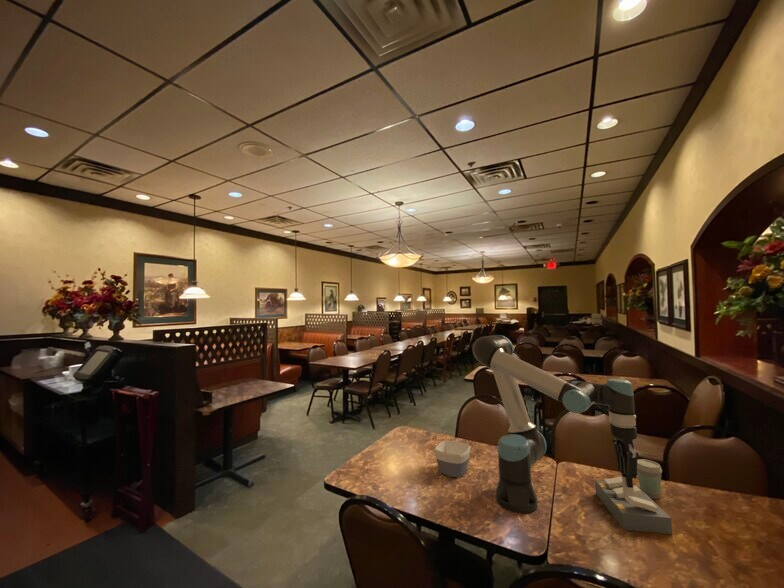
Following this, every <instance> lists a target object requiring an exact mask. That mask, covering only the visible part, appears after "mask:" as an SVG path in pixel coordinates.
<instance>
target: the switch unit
mask: <svg viewBox="0 0 784 588" xmlns="http://www.w3.org/2000/svg"><path fill="white" fill-rule="evenodd" d="M594 484H595V494H596V495H597V497H598V499H600V501H602V503H603V504H604V506H605V507H606V508H607V509H608V511H609V512H610V514H611V515H612V516H613V518H615V520H616V522H617V523H618V524H619V525H620V526H621V527H622V529H623V530H626V531H639V532H644V533H645V532H647V533H656V534H657V533H659V534H668V535H673V525H672V518H671V515H669V514H668V513H667V512H666V511H664V509H663V508H661V507H660V506H659V504H657V503H656V502H655V501H654V499H653V498H650V497H649V496H648V495H647V494H646V493H644V492H643V491H642V490H641V489H640V486H638V485H637V484H636V483H634V482H633V486H634V485H636V486H637V487H638V488H639V489H640V490H641V491H642V494H643V495H639V496H634V497H637V498H641V499H644V500H647V501H650V502H652V503H653V504H654V505H655V506H656V507H657V508H658V509H657V512H653V511H650V510H647V509H645V510H644V511H643V510H642V509H641V508H640V507H637V506H634V505H631V504H629V503H628V501H627V500H626V499H625V498H618V497H617V496H616V495H615V494H614V492H613V489H615V488H620V487H615V488H609V487H608V486H607V485H606V483H605V480H594ZM622 487H623V486H622Z"/></svg>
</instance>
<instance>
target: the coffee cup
mask: <svg viewBox="0 0 784 588" xmlns="http://www.w3.org/2000/svg"><path fill="white" fill-rule="evenodd" d="M662 469H663V468H662V466H661V465H660V464H659V463H657V462H656V461H653V460H649V459H645V458H643V459H642V458H641V459H640V458H639V459H637V478H638V479H637V480H638V484H639V488H640V489H641V490H642V491H643V492H644V493H646V494H647V495H648V496H649V497H650V498H651V499H652V500H657V499H658V500H659V499H660V498H661V486H662V485H661V484H662V483H661V482H662V473H663V470H662Z"/></svg>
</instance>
